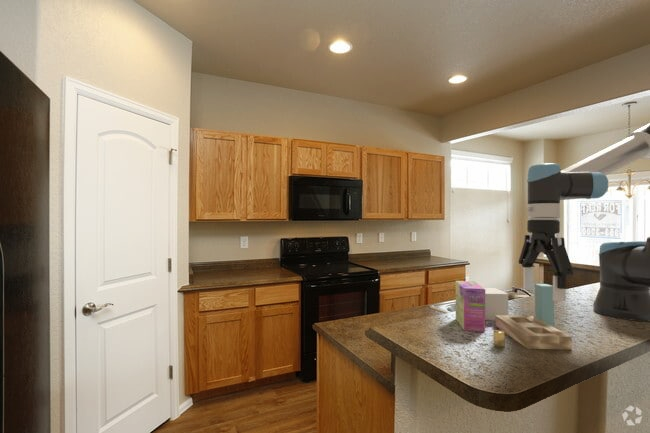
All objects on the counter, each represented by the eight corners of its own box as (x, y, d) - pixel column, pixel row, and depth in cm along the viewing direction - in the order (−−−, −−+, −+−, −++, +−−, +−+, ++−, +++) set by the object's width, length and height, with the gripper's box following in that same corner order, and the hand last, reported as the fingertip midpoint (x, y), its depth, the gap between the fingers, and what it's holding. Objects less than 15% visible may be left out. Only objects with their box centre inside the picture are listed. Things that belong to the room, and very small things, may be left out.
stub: (502, 344, 77) (501, 330, 77) (507, 348, 75) (506, 333, 75) (491, 344, 77) (491, 330, 77) (496, 348, 75) (496, 333, 75)
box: (486, 332, 86) (485, 288, 86) (463, 330, 87) (463, 287, 87) (475, 319, 96) (474, 281, 96) (455, 319, 97) (455, 280, 97)
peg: (546, 325, 90) (546, 283, 90) (554, 329, 87) (553, 286, 87) (535, 325, 90) (534, 283, 91) (542, 329, 87) (541, 286, 87)
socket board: (531, 326, 90) (531, 315, 90) (571, 349, 74) (571, 336, 74) (495, 325, 91) (495, 315, 91) (527, 348, 75) (527, 335, 75)
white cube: (495, 312, 103) (495, 288, 103) (508, 320, 95) (508, 293, 95) (470, 312, 104) (470, 287, 104) (481, 320, 96) (481, 293, 96)
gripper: (506, 219, 102) (506, 284, 102) (559, 219, 77) (558, 306, 77) (530, 219, 101) (530, 285, 101) (591, 219, 76) (591, 307, 76)
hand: (542, 294), depth 89 cm, fingers open, 13 cm apart
